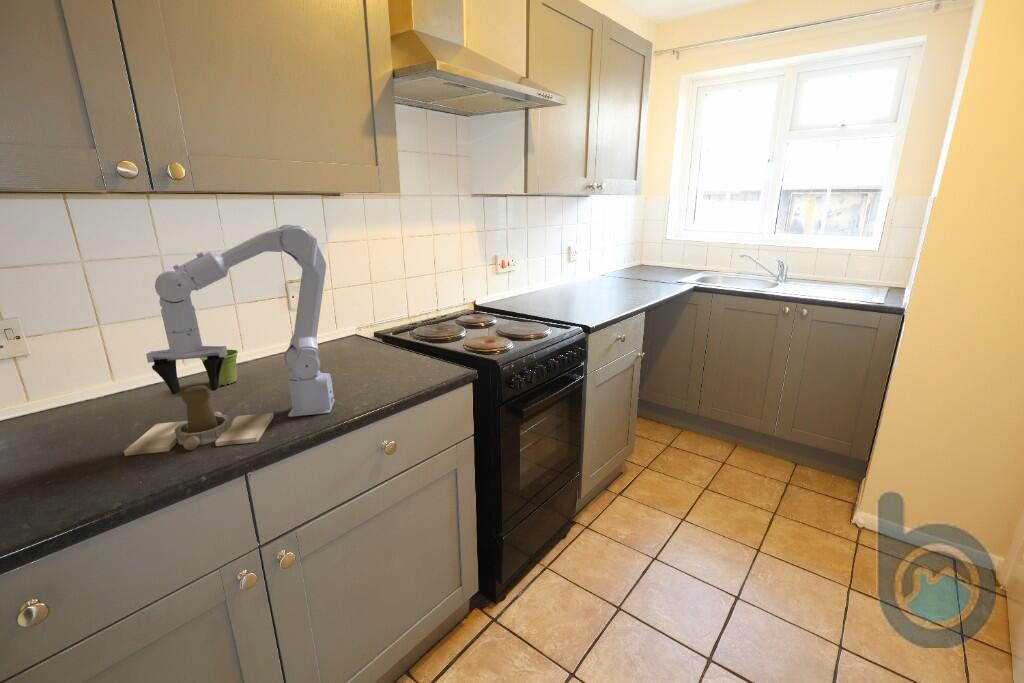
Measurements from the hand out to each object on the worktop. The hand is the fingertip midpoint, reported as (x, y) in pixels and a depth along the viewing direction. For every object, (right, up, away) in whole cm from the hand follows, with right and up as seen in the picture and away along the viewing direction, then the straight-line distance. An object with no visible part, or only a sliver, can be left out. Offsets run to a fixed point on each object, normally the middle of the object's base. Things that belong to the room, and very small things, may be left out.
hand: (195, 390), depth 103 cm
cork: (0, -10, +3) cm, 11 cm away
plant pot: (-14, -1, +34) cm, 37 cm away
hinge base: (0, -10, +3) cm, 10 cm away
